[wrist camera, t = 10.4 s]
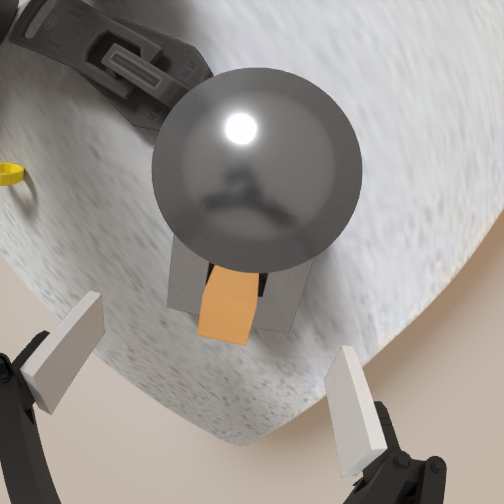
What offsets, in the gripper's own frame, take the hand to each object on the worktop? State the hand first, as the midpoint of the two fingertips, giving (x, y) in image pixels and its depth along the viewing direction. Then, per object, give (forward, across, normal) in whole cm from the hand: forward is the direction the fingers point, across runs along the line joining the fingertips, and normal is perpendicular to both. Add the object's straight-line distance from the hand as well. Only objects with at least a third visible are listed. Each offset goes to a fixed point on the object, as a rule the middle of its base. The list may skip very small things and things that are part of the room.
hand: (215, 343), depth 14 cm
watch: (+16, -30, +4) cm, 34 cm away
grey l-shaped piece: (+15, +1, +2) cm, 15 cm away
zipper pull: (+16, -18, +18) cm, 30 cm away
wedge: (+15, 0, -1) cm, 15 cm away
